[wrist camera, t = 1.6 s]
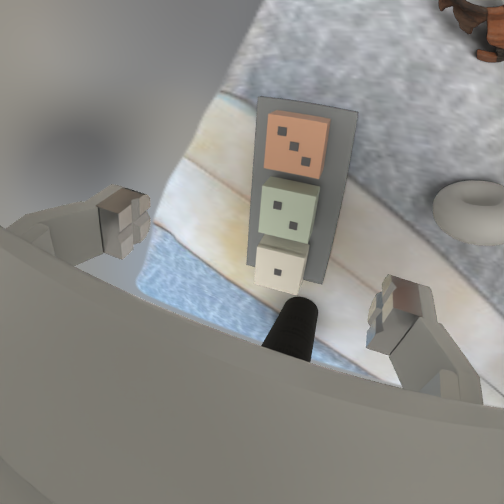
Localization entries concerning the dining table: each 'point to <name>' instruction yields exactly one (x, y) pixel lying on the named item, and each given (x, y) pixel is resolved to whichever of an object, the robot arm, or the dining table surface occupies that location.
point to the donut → (471, 212)
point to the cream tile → (280, 264)
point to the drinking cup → (294, 329)
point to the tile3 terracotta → (296, 143)
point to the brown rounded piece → (470, 16)
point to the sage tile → (288, 209)
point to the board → (306, 179)
